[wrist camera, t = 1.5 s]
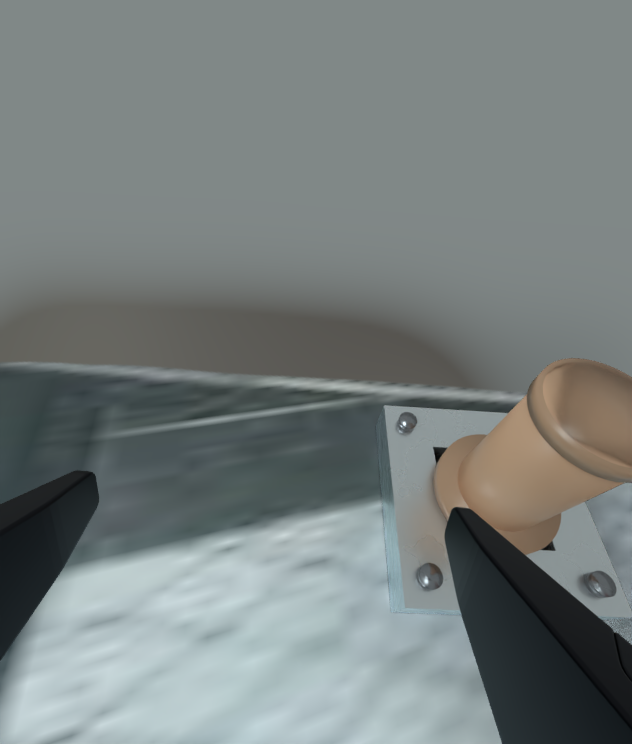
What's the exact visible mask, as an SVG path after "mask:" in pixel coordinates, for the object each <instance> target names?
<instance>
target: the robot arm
mask: <svg viewBox="0 0 632 744" xmlns="http://www.w3.org/2000/svg"><path fill="white" fill-rule="evenodd" d="M98 503H99V494H98V488H97V482H96V476H95V474H94V473H93V472H90V471H80V470H77V471H73V472H71V473H69V474H66V475H64V476H62V477H60V478H58V479H55V480H53V481H51V482H49V483H46V484H44V485H42V486H40V487H38V488H35V489H33V490H31V491H29V492H27V493H24V494H22V495H20V496H18V497H16V498H13V499H11V500H9V501H7V502H4V503H2V504H0V661H1V660H2V658H3V657H4V655H5V654H6V652H7V651H8V649H9V648H10V646H11V645H12V643H13V642H14V640H15V639H16V637H17V636H18V635H19V633H20V632H21V630H22V629H23V627H24V626H25V624H26V623H27V621H28V620H29V618H30V617H31V615H32V614H33V612H34V611H35V609H36V608H37V606H38V605H39V604H40V602H41V601H42V599H43V598H44V596H45V595H46V593H47V592H48V590H49V589H50V587H51V586H52V584H53V583H54V581H55V580H56V578H57V577H58V575H59V574H60V572H61V571H62V569H63V568H64V566H65V564H66V563H67V561H68V559H69V558H70V556H71V554H72V552H73V550H74V548H75V547H76V545H77V543H78V541H79V539H80V538H81V536H82V534H83V532H84V530H85V528H86V527H87V525H88V523H89V521H90V519H91V518H92V516H93V514H94V512H95V510H96V508H97V506H98ZM444 538H445V545H446V549H447V554H448V559H449V563H450V568H451V573H452V578H453V582H454V587H455V592H456V596H457V601H458V605H459V608H460V612H461V615H462V618H463V621H464V624H465V628H466V631H467V634H468V637H469V640H470V643H471V646H472V650H473V653H474V656H475V659H476V662H477V665H478V669H479V672H480V675H481V678H482V681H483V684H484V687H485V691H486V694H487V697H488V700H489V703H490V706H491V709H492V713H493V716H494V719H495V722H496V725H497V728H498V731H499V735H500V738H501V741H502V744H632V645H631V644H630V643H629V642H628V641H626V640H625V639H624V638H623V637H622V636H620V635H619V634H618V633H614V631H613V629H612V628H611V627H610V626H608V625H607V624H606V623H605V622H604V621H603V620H601V619H600V618H599V617H598V616H597V615H595V614H594V613H593V612H592V611H591V610H590V609H588V608H587V607H586V606H585V605H584V604H583V603H581V602H580V601H579V600H578V599H577V598H575V597H574V596H573V595H572V594H571V593H570V592H568V591H567V590H566V589H565V588H564V587H562V586H561V585H560V584H559V583H558V582H557V581H555V580H554V579H553V578H552V577H551V576H549V575H548V574H547V573H546V572H545V571H544V570H542V569H541V568H540V567H539V566H538V565H536V564H535V563H534V562H533V561H532V560H531V559H529V558H528V557H527V556H526V555H525V554H524V553H522V552H521V551H520V550H519V549H518V548H516V547H515V546H514V545H513V544H512V543H511V542H509V541H508V540H507V539H506V538H505V537H503V536H502V535H501V534H500V533H499V532H498V531H496V530H495V529H494V528H493V527H492V526H490V525H489V524H488V523H487V522H486V521H485V520H483V519H482V518H481V517H480V516H479V515H478V514H476V513H475V512H474V511H473V510H471V509H470V508H463V507H454V508H453V509H452V510H451V513H450V516H449V519H448V522H447V526H446V529H445V534H444Z"/></svg>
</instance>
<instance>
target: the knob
mask: <svg viewBox="0 0 632 744" xmlns="http://www.w3.org/2000/svg"><path fill="white" fill-rule="evenodd" d="M433 483H434V492H435V496H436V499H437V502H438V505H439V507H440V509H441V511H442V513H443V515H444V516H445V518H446V520H447V522H448V519H449V516H450V513H451V510H452V509H453V508H454V507H463V508H470V509H471V510H473V511H474V512H475V513H476V514H478V515H479V516H480V517H481V518H482V519H483V520H485V521H486V522H487V523H488V524H489V525H490V526H492V527H493V528H494V529H495V530H496V531H498V532H499V533H500V534H501V535H502V536H503V537H505V538H506V539H507V540H508V541H509V542H511V543H512V544H513V545H514V546H515V547H516V548H518V549H519V550H520V551H521V552H522V553H524V554H525V555H528V554H530V553H533V552H536V551H538V550H541V549H543V548H544V547H546V546H547V545H548V544H549V543H550V542H551V541H552V540H553V539H554V537H555V536H556V534H557V532H558V530H559V527H560V523H561V513H562V512H564V511H566V510H568V509H570V508H572V507H574V506H577V505H579V504H581V503H583V502H585V501H587V500H589V499H591V498H594V497H596V496H598V495H600V494H602V493H604V492H606V491H608V490H611V489H613V488H615V487H617V486H619V485H621V484H623V483H632V377H630V376H629V375H627V374H625V373H623V372H621V371H619V370H617V369H615V368H613V367H611V366H608V365H605V364H603V363H599V362H596V361H592V360H587V359H579V358H578V359H576V358H569V359H562V360H558V361H555V362H553V363H551V364H550V365H548V366H547V367H546V368H545V369H544V370H543V371H542V372H541V373H540V374H539V375H538V376H537V377H536V378H535V379H534V380H533V382H532V383H531V385H530V386H529V389H528V393H527V395H526V396H525V397H524V398H523V399H522V400H521V401H520V402H519V403H518V404H517V405H516V406H515V407H514V408H513V409H512V410H511V411H510V412H509V413H508V414H507V415H506V416H505V417H504V418H503V419H502V420H501V421H500V422H499V423H498V425H497V426H496V427H495V428H494V429H493V430H492V431H491V432H490V433H489V434H488V435H485V434H475V435H469V436H465V437H462V438H460V439H458V440H457V441H455V442H453V443H452V444H451V445H450V446H449V447H448V448H447V450H446V451H445V452H444V453H443V454H442V456H441V457H440V458H439V460H438V462H437V464H436V467H435V471H434V482H433Z"/></svg>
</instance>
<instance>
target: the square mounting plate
mask: <svg viewBox="0 0 632 744" xmlns="http://www.w3.org/2000/svg"><path fill="white" fill-rule="evenodd" d="M507 414H508V413H497V412H481V411H465V410H449V409H433V408H417V407H401V406H385V405H384V407H383V409H382V412H381V414H380V417H379V419H378V421H377V424H376V437H377V449H378V461H379V473H380V486H381V498H382V510H383V522H384V534H385V546H386V559H387V571H388V583H389V595H390V607H391V612H402V613H426V614H450V615H461V612H460V608H459V605H458V601H457V596H456V592H455V587H454V582H453V578H452V573H451V568H450V563H449V559H448V554H447V549H446V545H445V538H444V534H445V529H446V526H447V520H446V518H445V516H444V515H443V513H442V511H441V509H440V507H439V505H438V502H437V499H436V496H435V492H434V483H433V482H434V471H435V467H436V464H437V462H438V460H439V458H440V457H441V456H442V454H443V453H444V452H445V451H446V450H447V448H448V447H449V446H450V445H451V444H452V443H453V442H455V441H457V440H458V439H460V438H462V437H465V436H469V435H475V434H485V435H488V434H489V433H490V432H491V431H492V430H493V429H494V428H495V427H496V426H497V425H498V423H499V422H500V421H501V420H502V419H503V418H504V417H505V416H506V415H507ZM526 556H527V557H528V558H529V559H531V560H532V561H533V562H534V563H535V564H536V565H538V566H539V567H540V568H541V569H542V570H544V571H545V572H546V573H547V574H548V575H549V576H551V577H552V578H553V579H554V580H555V581H557V582H558V583H559V584H560V585H561V586H562V587H564V588H565V589H566V590H567V591H568V592H570V593H571V594H572V595H573V596H574V597H575V598H577V599H578V600H579V601H580V602H581V603H583V604H584V605H585V606H586V607H587V608H588V609H590V610H591V611H592V612H593V613H594V614H595V615H597V616H598V617H599V618H600V619H601V620H608V619H623V618H632V610H631V608H630V605H629V603H628V601H627V598H626V596H625V594H624V591H623V589H622V587H621V584H620V582H619V580H618V577H617V575H616V573H615V570H614V568H613V566H612V563H611V561H610V559H609V556H608V554H607V551H606V549H605V547H604V544H603V542H602V540H601V537H600V535H599V533H598V530H597V528H596V526H595V523H594V521H593V519H592V516H591V514H590V512H589V509H588V507H587V505H586V502H583V503H581V504H579V505H577V506H574V507H572V508H570V509H568V510H566V511H564V512H562V513H561V523H560V527H559V530H558V532H557V534H556V536H555V537H554V539H553V540H552V541H551V542H550V543H549V544H548V545H547V546H546V547H544V548H543V549H541V550H538V551H536V552H533V553H530V554H528V555H526Z"/></svg>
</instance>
